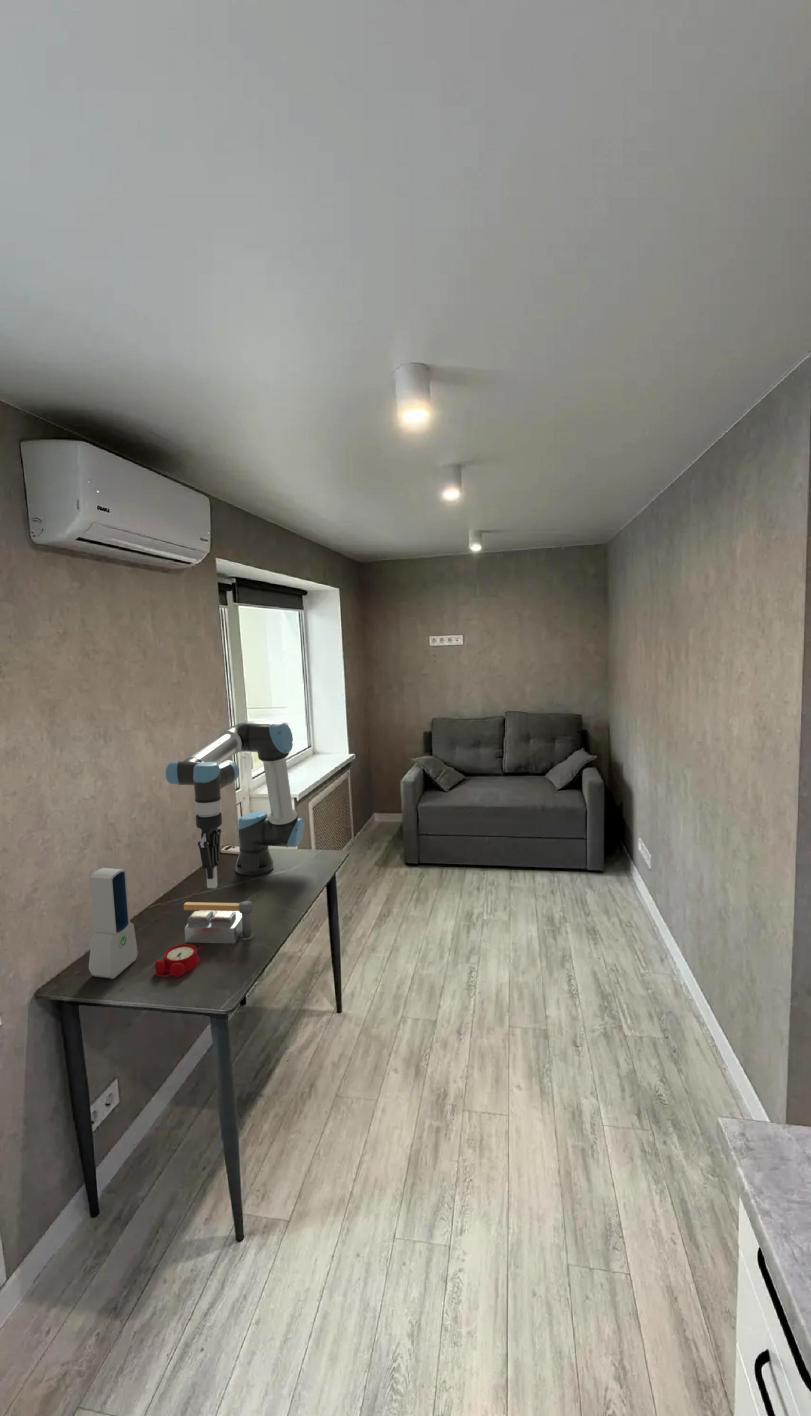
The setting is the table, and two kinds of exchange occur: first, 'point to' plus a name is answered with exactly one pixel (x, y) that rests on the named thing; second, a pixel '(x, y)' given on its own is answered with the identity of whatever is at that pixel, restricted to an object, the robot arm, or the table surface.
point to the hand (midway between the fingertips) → (212, 887)
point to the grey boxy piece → (215, 927)
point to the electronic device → (111, 924)
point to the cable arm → (242, 907)
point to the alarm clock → (178, 960)
